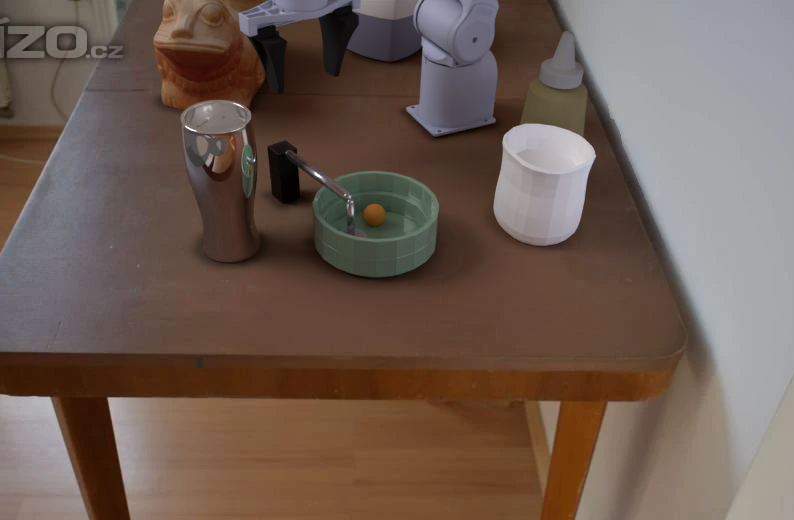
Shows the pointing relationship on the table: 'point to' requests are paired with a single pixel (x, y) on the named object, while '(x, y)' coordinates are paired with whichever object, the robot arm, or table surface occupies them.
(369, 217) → the orange ball
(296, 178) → the ladle
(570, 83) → the squeeze bottle
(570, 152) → the cup
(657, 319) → the table surface
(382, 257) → the soup bowl
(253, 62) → the frog figurine
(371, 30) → the grey and white container
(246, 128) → the beer glass
